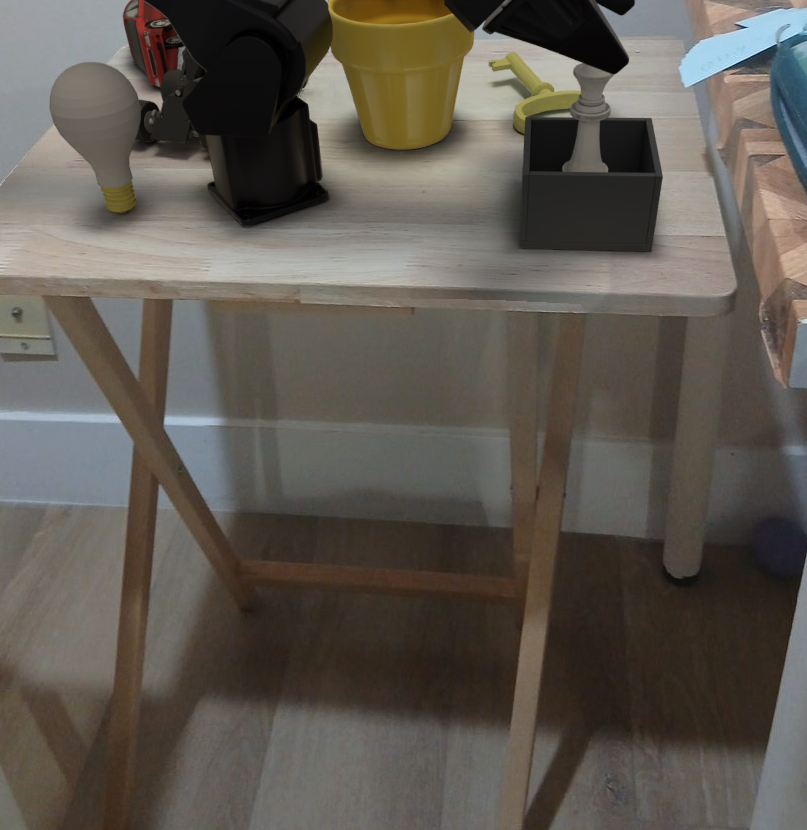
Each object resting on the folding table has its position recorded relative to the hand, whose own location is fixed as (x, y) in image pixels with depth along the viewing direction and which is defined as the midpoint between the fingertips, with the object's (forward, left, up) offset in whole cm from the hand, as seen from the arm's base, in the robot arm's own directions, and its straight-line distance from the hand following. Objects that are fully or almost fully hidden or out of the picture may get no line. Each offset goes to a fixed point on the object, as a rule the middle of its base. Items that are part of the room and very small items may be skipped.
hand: (626, 36), depth 52 cm
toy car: (-11, +44, -9) cm, 47 cm away
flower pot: (-3, +19, -12) cm, 22 cm away
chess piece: (-1, +1, -11) cm, 11 cm away
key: (+8, +16, -12) cm, 21 cm away
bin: (-1, +1, -11) cm, 12 cm away
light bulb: (-25, +20, -12) cm, 34 cm away
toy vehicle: (-14, +30, -11) cm, 35 cm away
